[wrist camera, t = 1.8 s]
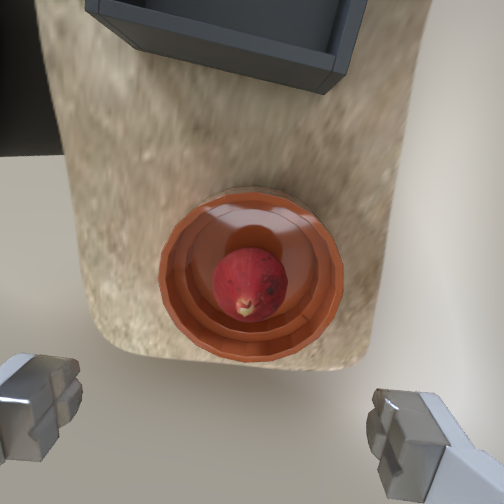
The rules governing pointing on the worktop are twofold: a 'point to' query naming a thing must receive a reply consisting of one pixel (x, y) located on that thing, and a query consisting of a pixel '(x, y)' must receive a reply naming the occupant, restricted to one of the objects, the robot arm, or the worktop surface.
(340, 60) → the bin
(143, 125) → the worktop surface
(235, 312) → the pomegranate
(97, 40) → the worktop surface
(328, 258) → the bowl
